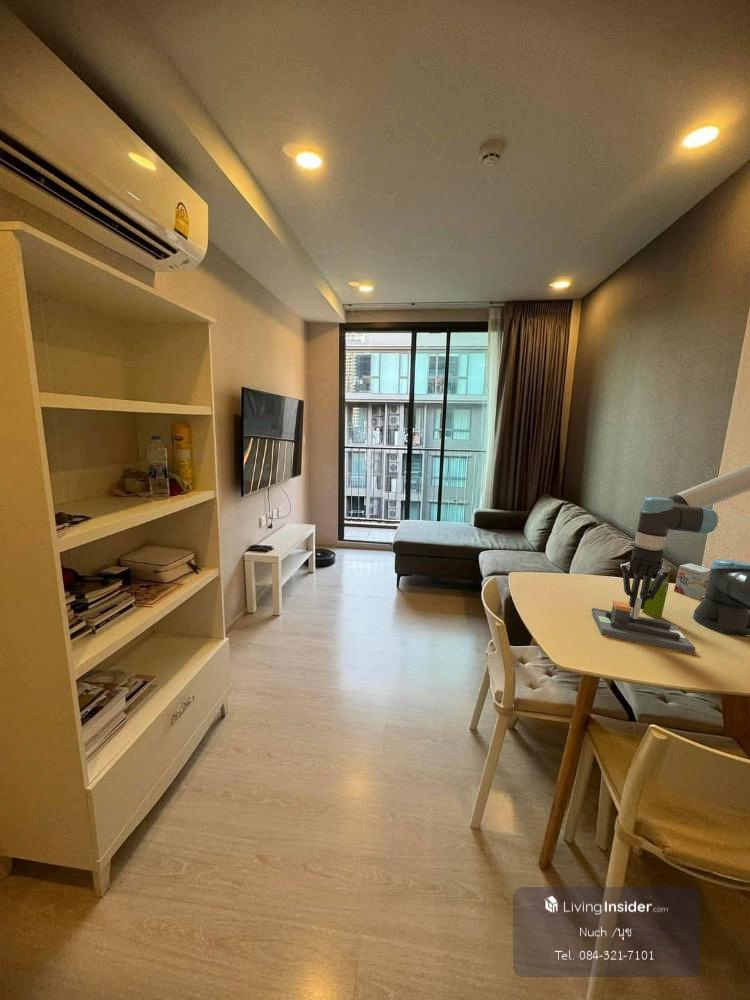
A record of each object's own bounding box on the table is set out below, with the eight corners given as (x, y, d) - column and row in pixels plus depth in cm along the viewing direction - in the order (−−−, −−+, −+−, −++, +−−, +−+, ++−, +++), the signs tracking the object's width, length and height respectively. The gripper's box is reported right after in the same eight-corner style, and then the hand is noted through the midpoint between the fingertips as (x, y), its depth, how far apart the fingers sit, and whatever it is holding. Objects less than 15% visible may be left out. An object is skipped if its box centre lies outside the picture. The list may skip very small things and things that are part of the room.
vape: (658, 619, 131) (669, 564, 127) (639, 611, 136) (650, 559, 132) (663, 617, 132) (675, 563, 129) (645, 609, 138) (656, 558, 134)
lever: (624, 620, 123) (627, 603, 122) (628, 626, 119) (631, 608, 118) (609, 617, 124) (613, 600, 123) (613, 623, 121) (616, 605, 119)
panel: (674, 630, 123) (676, 620, 122) (693, 653, 110) (696, 642, 109) (592, 615, 131) (593, 605, 130) (601, 634, 118) (603, 624, 117)
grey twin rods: (665, 624, 127) (666, 620, 127) (669, 628, 124) (670, 624, 124) (590, 610, 134) (591, 606, 134) (592, 614, 132) (593, 610, 131)
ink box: (672, 591, 158) (678, 564, 156) (684, 588, 161) (690, 562, 159) (697, 599, 150) (703, 571, 148) (708, 597, 154) (714, 569, 152)
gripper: (668, 546, 117) (653, 616, 121) (621, 540, 121) (608, 607, 126) (678, 553, 110) (662, 627, 114) (627, 546, 114) (613, 617, 119)
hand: (634, 616), depth 120 cm, fingers closed
